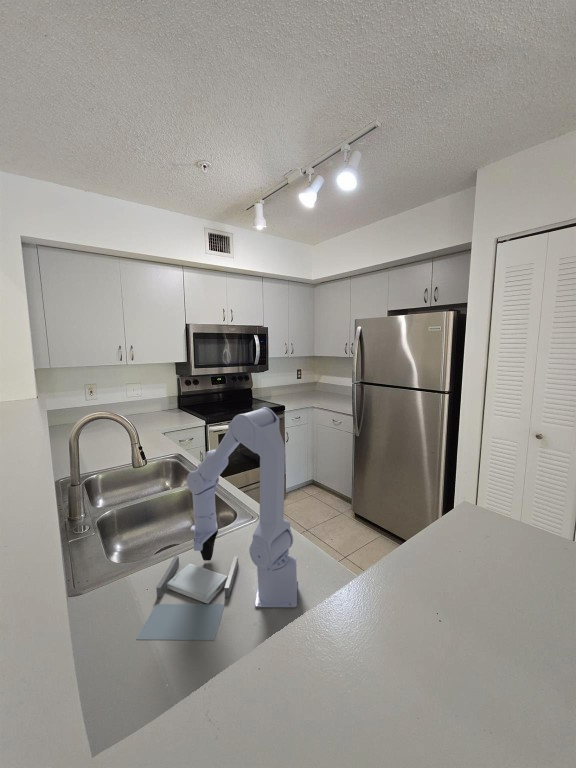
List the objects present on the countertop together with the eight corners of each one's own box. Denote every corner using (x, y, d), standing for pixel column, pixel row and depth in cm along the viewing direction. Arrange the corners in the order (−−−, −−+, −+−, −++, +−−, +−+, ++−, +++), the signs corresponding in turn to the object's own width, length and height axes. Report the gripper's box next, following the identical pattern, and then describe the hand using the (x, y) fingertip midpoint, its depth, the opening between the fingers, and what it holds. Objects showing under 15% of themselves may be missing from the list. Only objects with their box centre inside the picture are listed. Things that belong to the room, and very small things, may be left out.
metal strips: (238, 564, 87) (238, 556, 87) (229, 597, 76) (228, 587, 76) (175, 564, 88) (175, 556, 88) (157, 597, 76) (156, 587, 76)
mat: (224, 605, 74) (224, 604, 74) (214, 641, 65) (214, 640, 65) (155, 605, 74) (155, 604, 74) (136, 640, 66) (136, 639, 66)
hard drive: (166, 583, 79) (207, 598, 74) (189, 562, 86) (228, 574, 81) (167, 589, 79) (207, 604, 74) (190, 568, 86) (228, 581, 81)
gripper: (198, 499, 94) (201, 542, 96) (180, 527, 80) (183, 577, 81) (222, 499, 94) (224, 542, 95) (208, 526, 79) (211, 577, 81)
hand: (207, 558), depth 88 cm, fingers closed
